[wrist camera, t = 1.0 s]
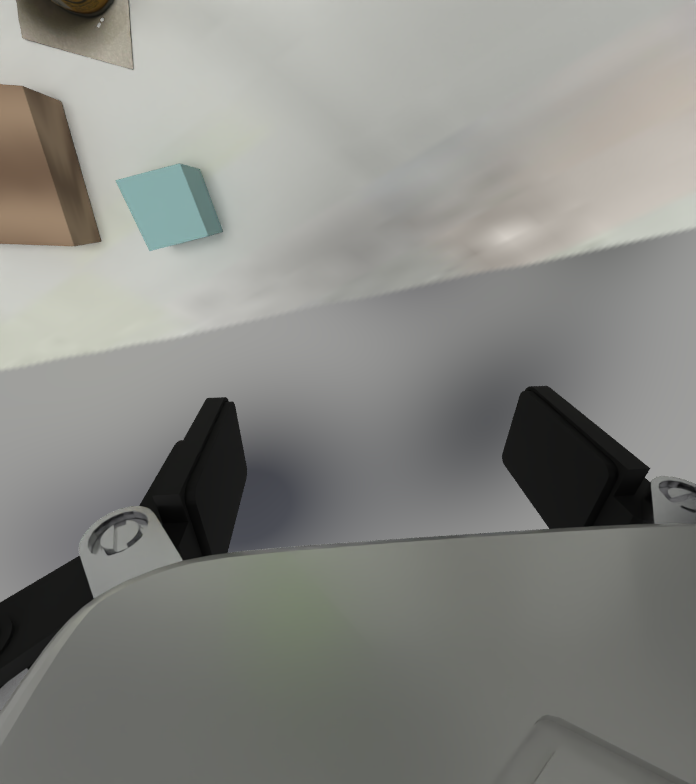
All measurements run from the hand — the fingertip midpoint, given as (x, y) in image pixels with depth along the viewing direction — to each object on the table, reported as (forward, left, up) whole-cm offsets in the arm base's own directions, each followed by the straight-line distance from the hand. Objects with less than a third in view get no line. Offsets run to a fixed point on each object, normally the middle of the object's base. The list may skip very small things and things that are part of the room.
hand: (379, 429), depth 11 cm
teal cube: (-5, -14, -27) cm, 31 cm away
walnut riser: (-7, -27, -27) cm, 39 cm away
